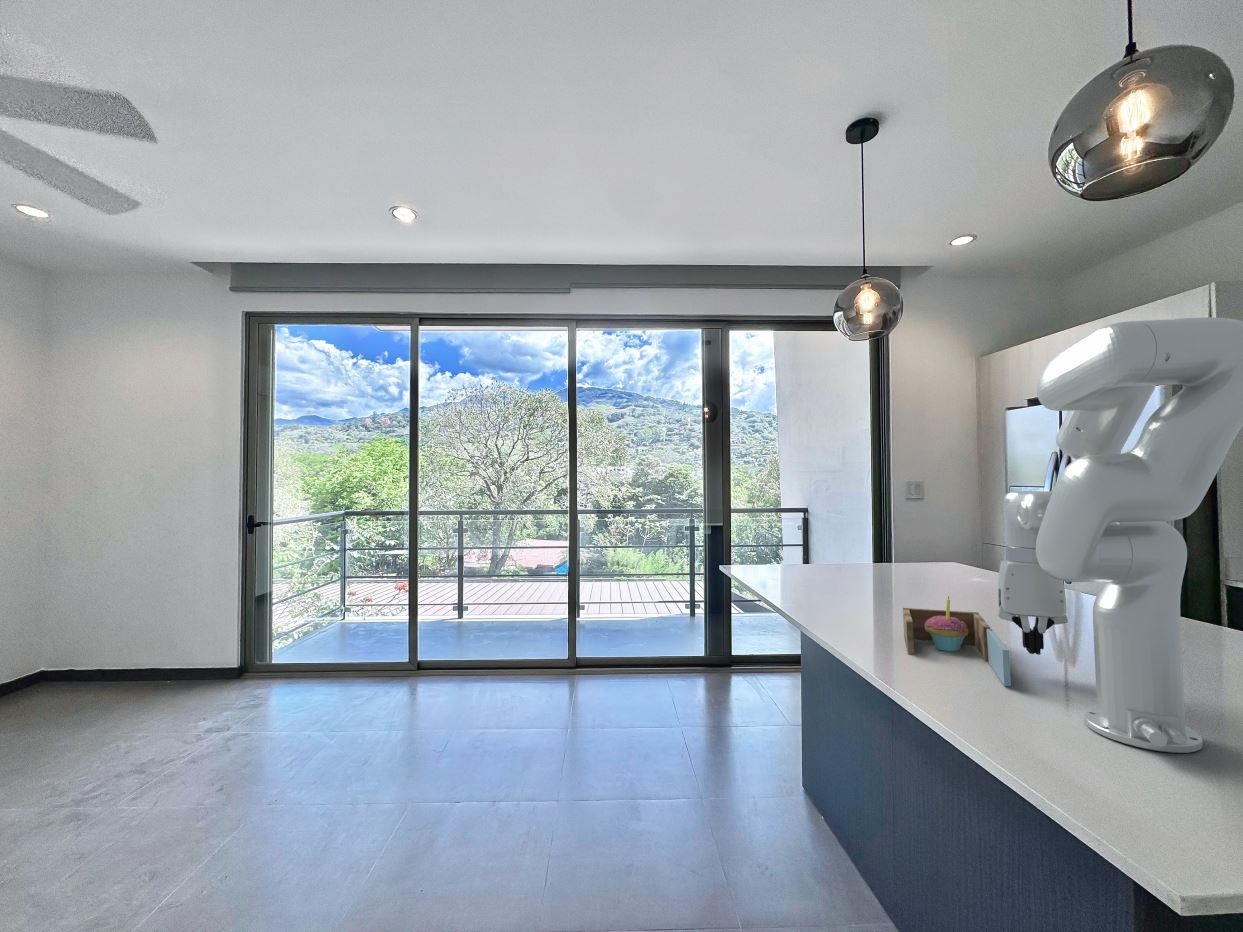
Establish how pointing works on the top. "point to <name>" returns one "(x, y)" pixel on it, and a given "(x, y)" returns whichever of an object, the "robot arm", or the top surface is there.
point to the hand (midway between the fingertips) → (1033, 652)
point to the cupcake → (946, 631)
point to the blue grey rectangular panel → (998, 657)
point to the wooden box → (918, 617)
